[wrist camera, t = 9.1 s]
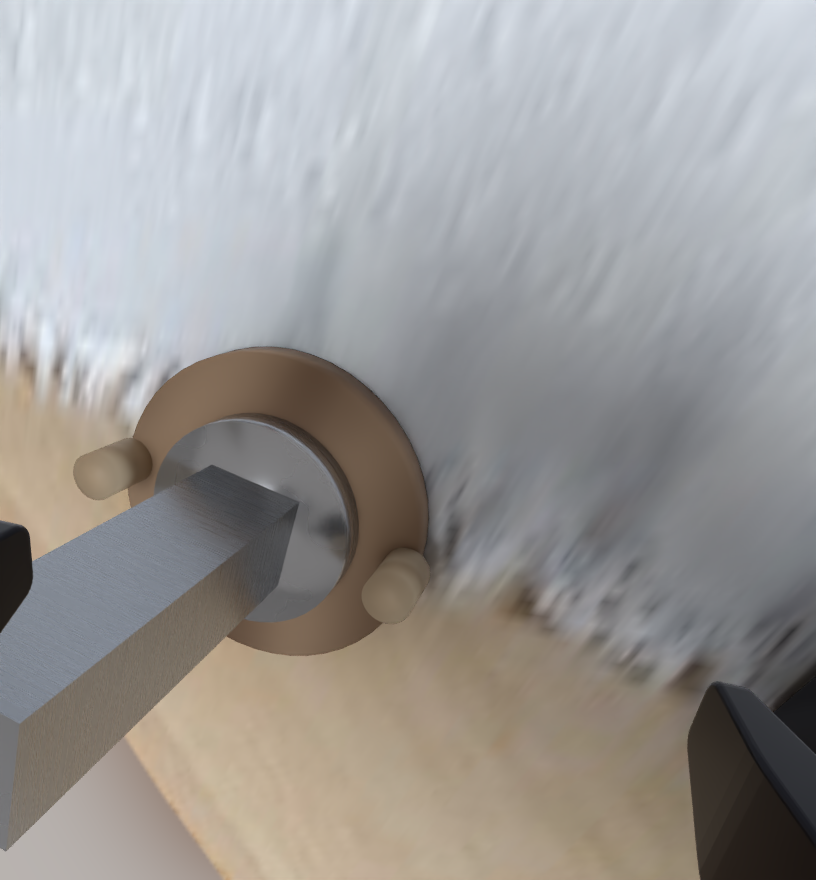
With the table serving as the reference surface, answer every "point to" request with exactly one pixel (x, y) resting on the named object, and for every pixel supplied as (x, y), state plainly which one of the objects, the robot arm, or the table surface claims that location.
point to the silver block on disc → (163, 596)
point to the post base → (342, 433)
